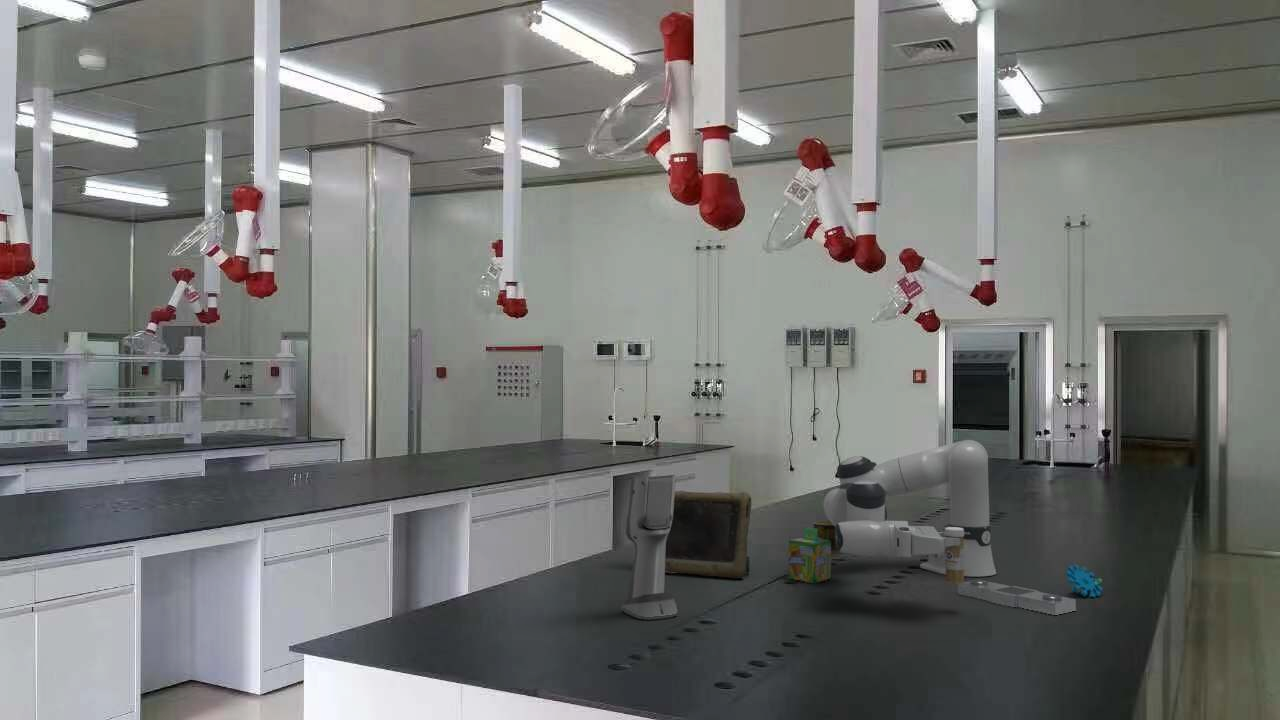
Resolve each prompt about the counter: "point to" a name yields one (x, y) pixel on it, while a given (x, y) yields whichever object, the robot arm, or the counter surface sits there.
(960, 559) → the sprinkles bottle
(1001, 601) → the grey long flat block
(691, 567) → the brown frame
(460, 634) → the counter surface
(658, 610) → the thermal camera
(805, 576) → the chalk box
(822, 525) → the brown tapered cylinder
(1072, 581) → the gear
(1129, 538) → the counter surface
